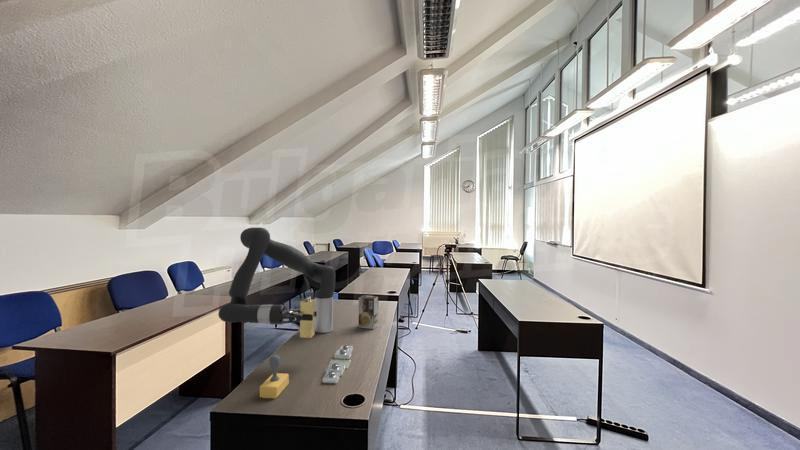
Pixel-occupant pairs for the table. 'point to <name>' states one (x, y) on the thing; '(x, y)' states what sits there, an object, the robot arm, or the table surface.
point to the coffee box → (368, 311)
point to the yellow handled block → (274, 380)
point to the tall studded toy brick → (307, 326)
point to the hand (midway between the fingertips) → (314, 315)
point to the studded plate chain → (338, 364)
